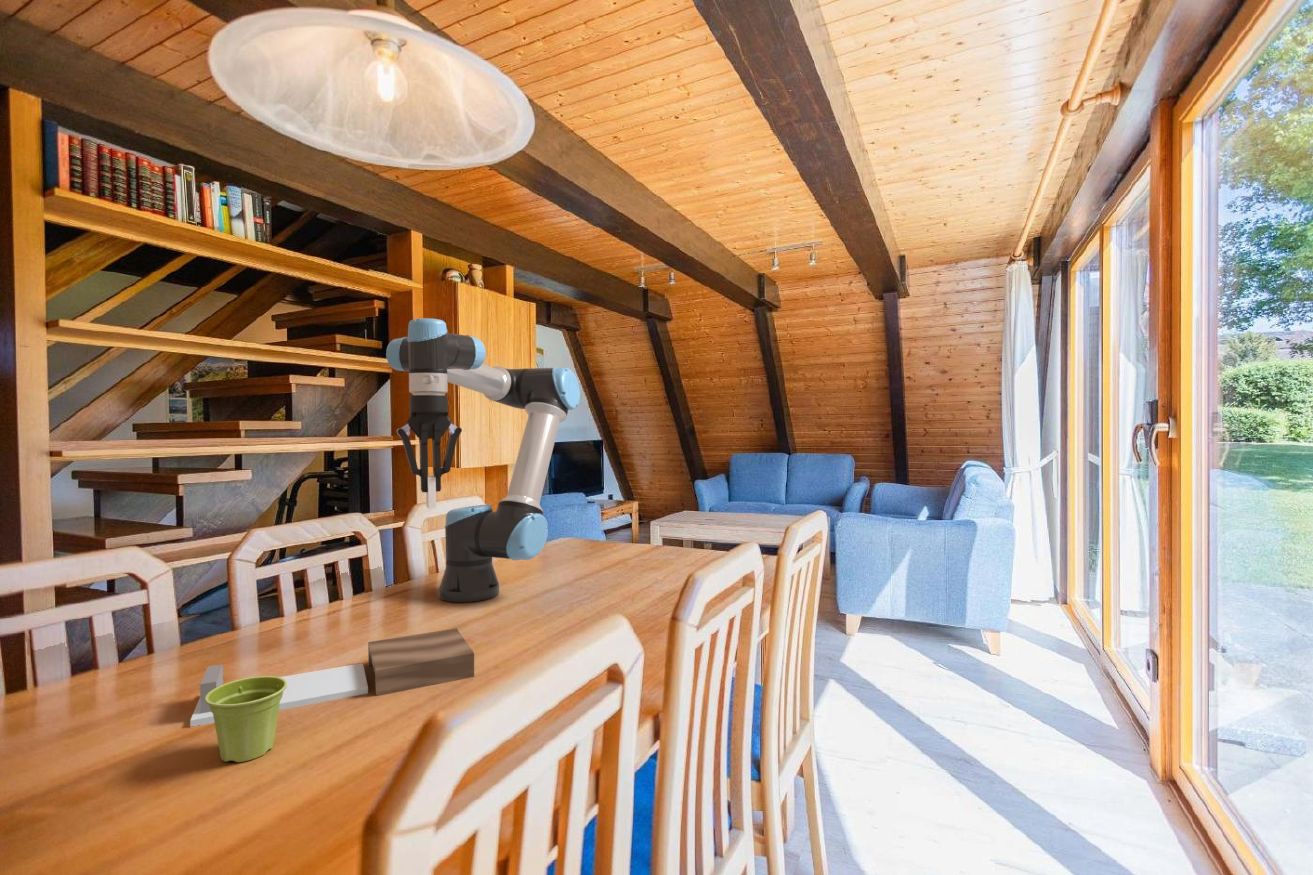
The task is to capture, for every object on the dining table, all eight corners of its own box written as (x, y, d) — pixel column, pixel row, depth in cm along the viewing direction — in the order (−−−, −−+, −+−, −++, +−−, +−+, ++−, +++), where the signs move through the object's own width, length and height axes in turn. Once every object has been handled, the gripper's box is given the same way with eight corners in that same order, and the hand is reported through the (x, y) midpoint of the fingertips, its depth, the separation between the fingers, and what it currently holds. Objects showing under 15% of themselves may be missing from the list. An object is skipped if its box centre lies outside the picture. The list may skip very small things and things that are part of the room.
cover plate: (202, 699, 103) (202, 663, 103) (362, 671, 115) (362, 638, 114) (190, 730, 92) (189, 690, 92) (368, 696, 104) (367, 660, 104)
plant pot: (277, 727, 92) (277, 670, 92) (296, 752, 86) (295, 689, 85) (200, 751, 86) (199, 689, 86) (213, 779, 79) (212, 711, 79)
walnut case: (368, 664, 116) (368, 642, 116) (456, 649, 124) (456, 628, 124) (376, 695, 103) (375, 670, 103) (474, 676, 111) (474, 653, 111)
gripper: (397, 393, 123) (400, 512, 124) (464, 394, 129) (467, 507, 130) (392, 394, 129) (395, 507, 130) (457, 395, 136) (459, 502, 137)
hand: (431, 507), depth 130 cm, fingers closed
